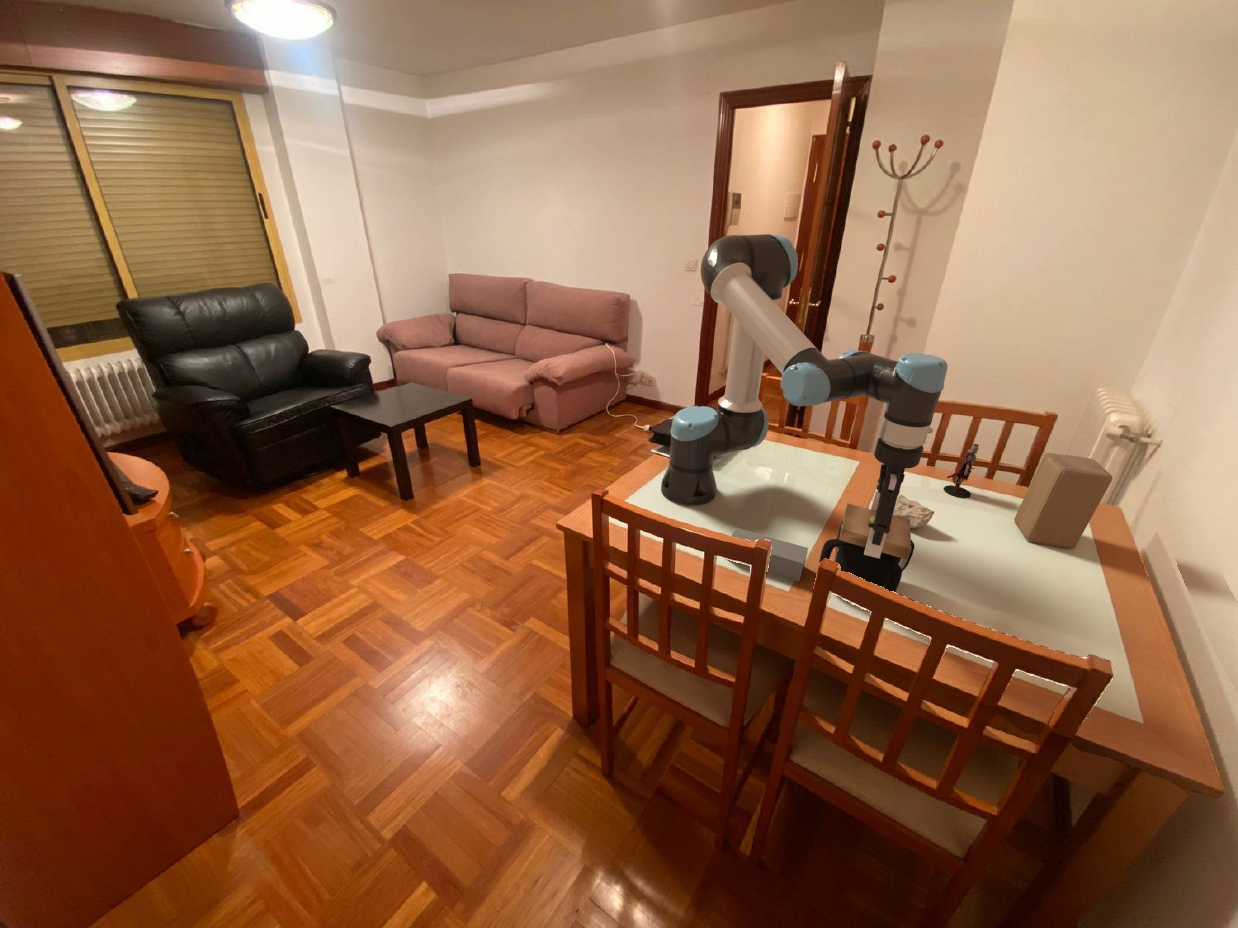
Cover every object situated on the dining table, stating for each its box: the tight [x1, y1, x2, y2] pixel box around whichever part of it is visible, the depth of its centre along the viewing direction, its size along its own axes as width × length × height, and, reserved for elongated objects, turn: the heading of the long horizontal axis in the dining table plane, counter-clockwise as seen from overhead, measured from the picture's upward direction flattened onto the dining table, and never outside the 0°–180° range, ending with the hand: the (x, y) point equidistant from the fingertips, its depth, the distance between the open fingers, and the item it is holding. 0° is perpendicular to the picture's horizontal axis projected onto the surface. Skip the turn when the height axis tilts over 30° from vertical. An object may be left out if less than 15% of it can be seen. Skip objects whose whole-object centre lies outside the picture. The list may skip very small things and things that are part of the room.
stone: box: [872, 493, 935, 529], centre depth 126 cm, size 8×12×10 cm
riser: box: [731, 527, 809, 583], centre depth 110 cm, size 16×6×5 cm, turn 62°
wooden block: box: [1014, 452, 1113, 550], centre depth 118 cm, size 10×10×20 cm
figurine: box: [943, 443, 979, 499], centre depth 137 cm, size 7×7×15 cm
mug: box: [818, 520, 915, 593], centre depth 103 cm, size 16×16×12 cm
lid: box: [839, 503, 912, 559], centre depth 100 cm, size 12×12×4 cm
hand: (873, 537), depth 100 cm, fingers open, 13 cm apart
